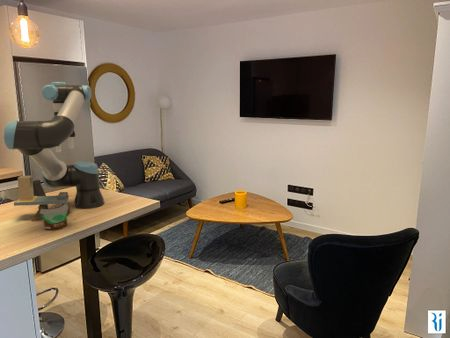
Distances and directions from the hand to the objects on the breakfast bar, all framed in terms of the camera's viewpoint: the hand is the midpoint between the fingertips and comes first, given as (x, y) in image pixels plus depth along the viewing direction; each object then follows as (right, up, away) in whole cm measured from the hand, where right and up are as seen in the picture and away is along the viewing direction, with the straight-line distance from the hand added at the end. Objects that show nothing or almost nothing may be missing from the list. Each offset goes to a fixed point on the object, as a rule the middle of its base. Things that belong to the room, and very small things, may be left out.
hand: (65, 150), depth 186 cm
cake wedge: (+15, -37, -36) cm, 54 cm away
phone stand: (-17, -29, +3) cm, 34 cm away
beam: (-1, -26, -22) cm, 34 cm away
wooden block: (-7, -25, -24) cm, 36 cm away
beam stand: (+3, -33, -20) cm, 39 cm away
